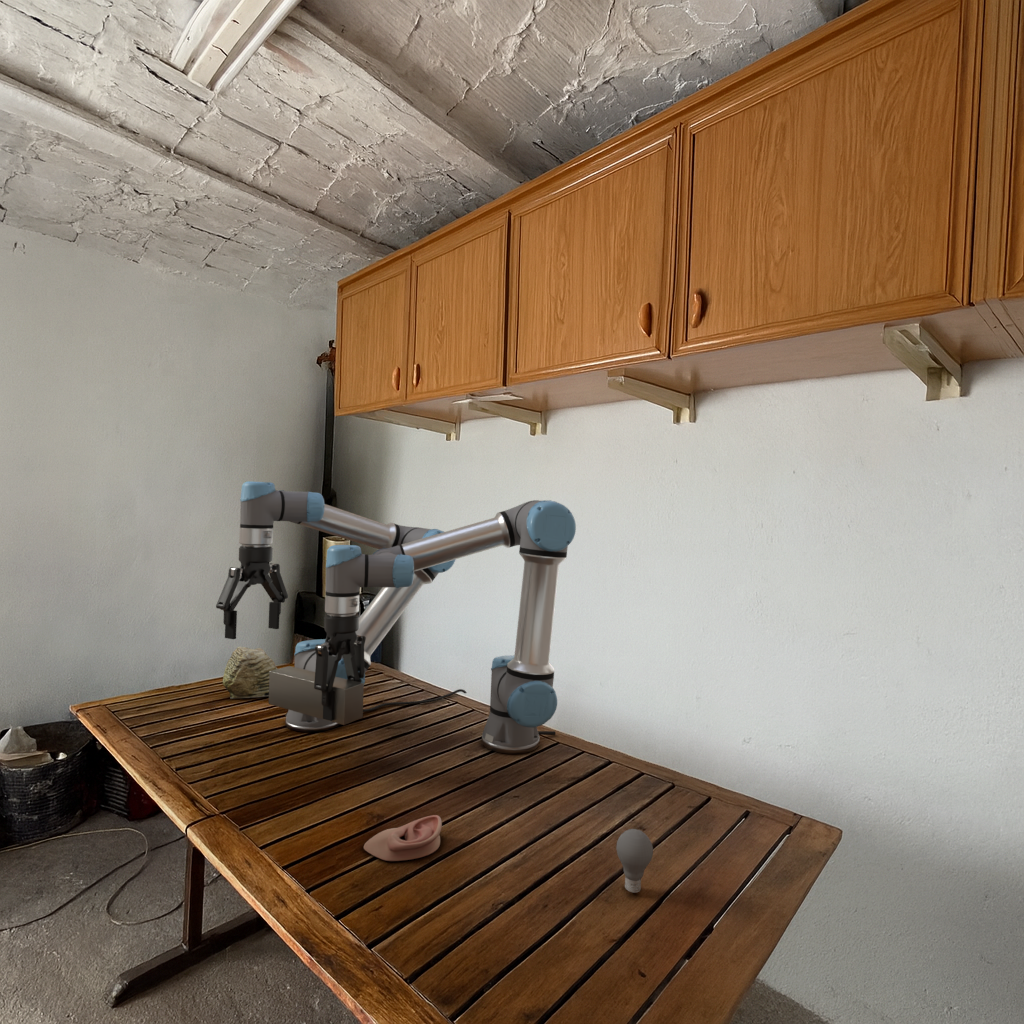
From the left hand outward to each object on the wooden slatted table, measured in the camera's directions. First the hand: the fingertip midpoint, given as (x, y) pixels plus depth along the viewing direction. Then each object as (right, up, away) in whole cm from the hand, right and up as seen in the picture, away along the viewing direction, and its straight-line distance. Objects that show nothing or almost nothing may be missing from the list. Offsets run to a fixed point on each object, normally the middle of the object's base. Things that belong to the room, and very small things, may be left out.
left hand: (252, 633), depth 153 cm
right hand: (+23, -17, -9) cm, 30 cm away
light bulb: (+83, -34, -47) cm, 101 cm away
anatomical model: (+43, -32, -37) cm, 65 cm away
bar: (+17, -17, -6) cm, 24 cm away
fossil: (-18, -28, +45) cm, 56 cm away
